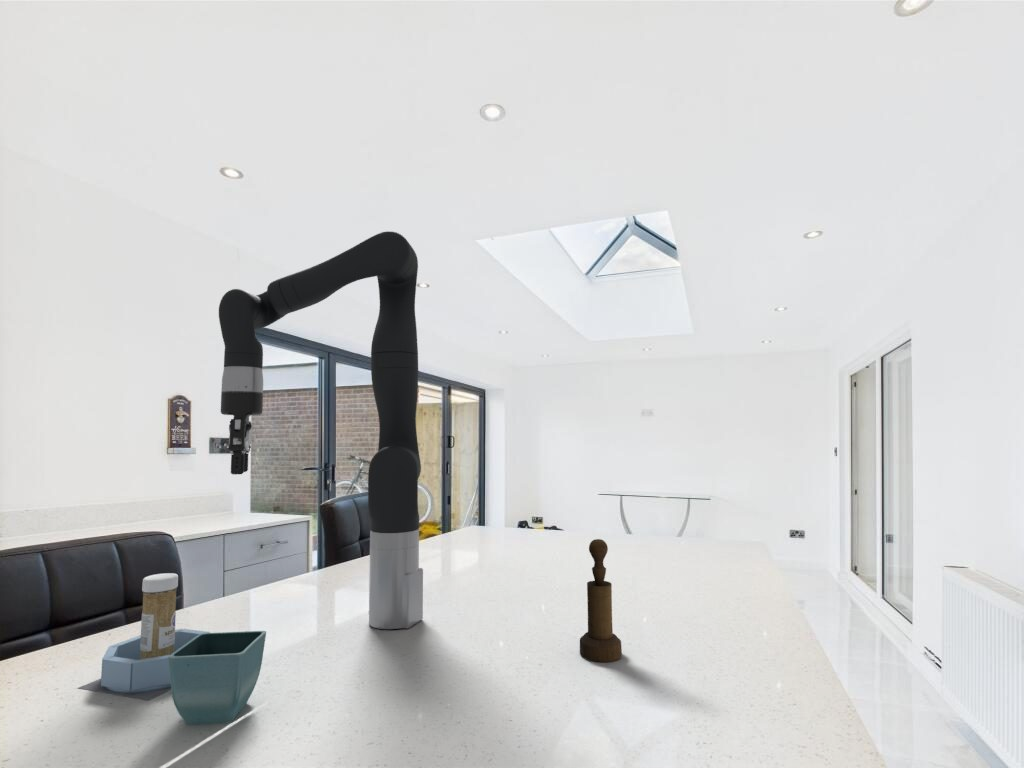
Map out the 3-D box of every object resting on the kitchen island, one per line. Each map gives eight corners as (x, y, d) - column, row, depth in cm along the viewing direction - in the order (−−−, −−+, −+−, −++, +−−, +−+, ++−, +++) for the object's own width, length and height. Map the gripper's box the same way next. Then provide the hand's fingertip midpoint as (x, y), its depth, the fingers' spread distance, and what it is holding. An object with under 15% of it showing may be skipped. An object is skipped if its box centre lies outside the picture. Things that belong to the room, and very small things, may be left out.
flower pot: (197, 701, 76) (200, 631, 77) (265, 698, 77) (267, 629, 77) (162, 736, 67) (166, 656, 68) (240, 732, 68) (242, 653, 69)
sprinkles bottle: (175, 670, 83) (179, 576, 85) (138, 678, 81) (143, 580, 82) (173, 660, 87) (177, 570, 89) (137, 667, 85) (142, 574, 86)
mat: (230, 663, 89) (230, 660, 89) (148, 703, 75) (148, 700, 75) (166, 654, 93) (166, 651, 93) (77, 690, 79) (77, 687, 79)
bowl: (228, 661, 88) (229, 634, 89) (151, 699, 76) (153, 666, 76) (163, 652, 92) (164, 626, 93) (80, 686, 80) (81, 656, 80)
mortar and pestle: (624, 649, 93) (621, 537, 95) (618, 665, 87) (615, 544, 89) (584, 645, 95) (582, 535, 97) (575, 659, 89) (573, 542, 91)
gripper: (260, 388, 108) (257, 474, 107) (265, 394, 121) (262, 470, 120) (216, 387, 106) (212, 475, 104) (226, 393, 119) (222, 471, 117)
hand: (239, 473), depth 112 cm, fingers open, 8 cm apart
